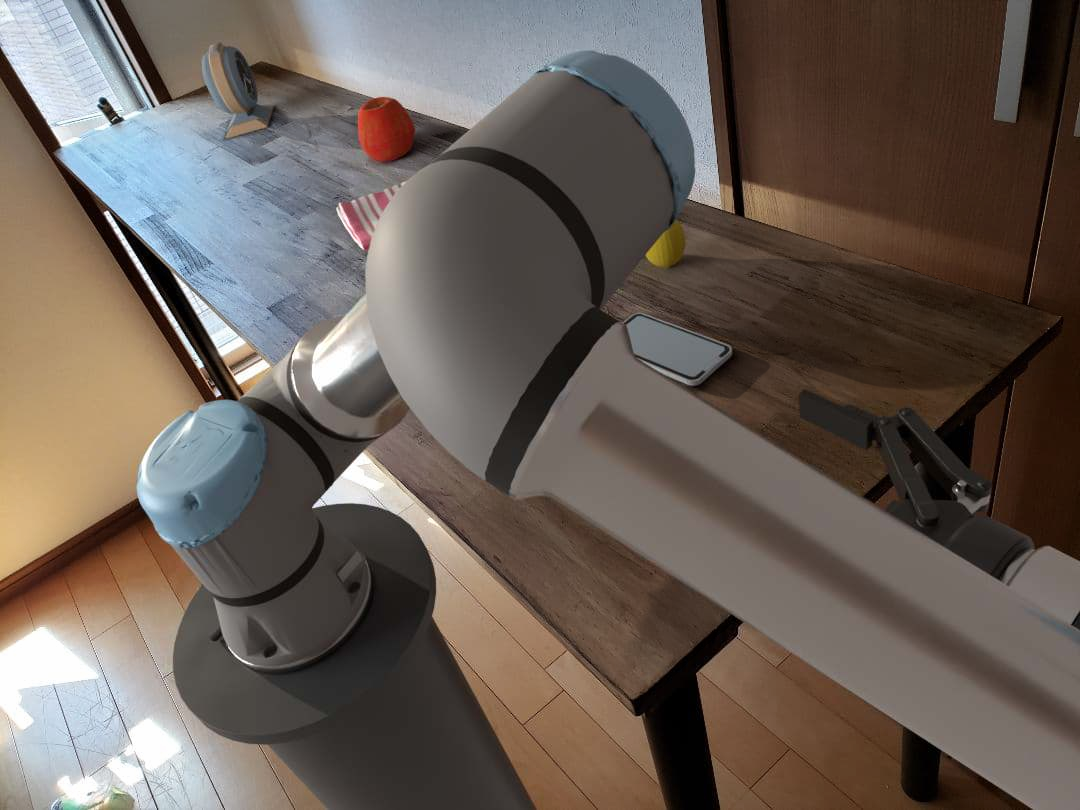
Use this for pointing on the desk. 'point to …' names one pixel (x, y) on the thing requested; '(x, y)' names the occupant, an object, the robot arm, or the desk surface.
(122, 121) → the desk surface
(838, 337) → the desk surface
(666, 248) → the lemon
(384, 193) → the dish towel
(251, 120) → the alarm clock
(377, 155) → the apple
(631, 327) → the smartphone
